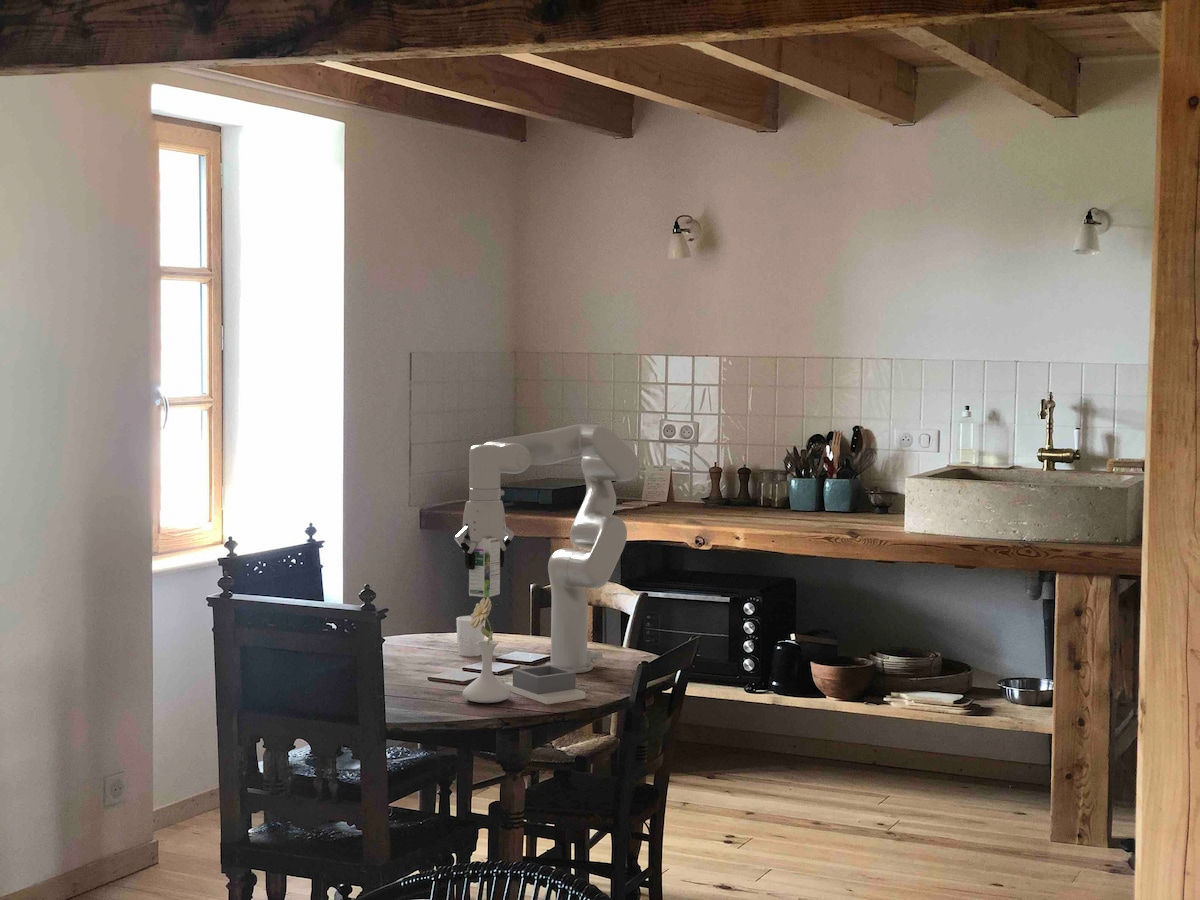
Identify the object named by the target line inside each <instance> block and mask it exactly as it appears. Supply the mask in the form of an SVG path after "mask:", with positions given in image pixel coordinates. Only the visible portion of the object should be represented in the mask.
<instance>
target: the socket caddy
mask: <svg viewBox="0 0 1200 900" xmlns="http://www.w3.org/2000/svg"><path fill="white" fill-rule="evenodd" d="M576 676H577V673H576V672H572V671H569V670H566V669H563V668H560V667H557V666H554V665H545V664H544V665H537V666H528V667H521V668H513V669H512V681H507V682H503V684H504V685H505V686H506V687H507V688H508V689H509V690H510V692H511V693H514V694H517V695H520V696H522V697H525V698H528V699H530V700H533V701H536V702H539V703H542V704H544V705H551V704H558V703H559V704H560V703H565V702H570V701H578V700H584V699H586V692H585V691H582V690H580V689H577V688H576V685H577V683H576V682H577V681H576V678H577V677H576Z"/></svg>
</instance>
